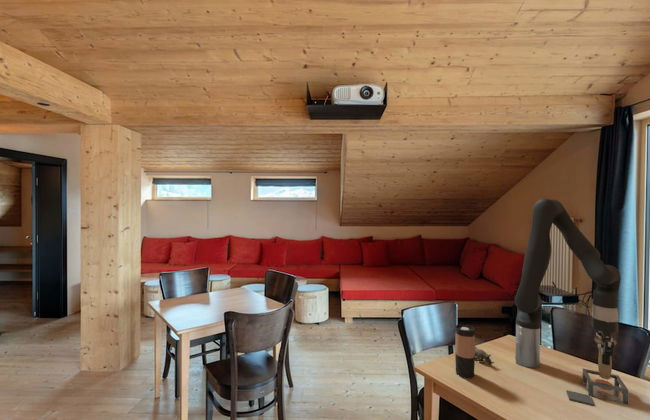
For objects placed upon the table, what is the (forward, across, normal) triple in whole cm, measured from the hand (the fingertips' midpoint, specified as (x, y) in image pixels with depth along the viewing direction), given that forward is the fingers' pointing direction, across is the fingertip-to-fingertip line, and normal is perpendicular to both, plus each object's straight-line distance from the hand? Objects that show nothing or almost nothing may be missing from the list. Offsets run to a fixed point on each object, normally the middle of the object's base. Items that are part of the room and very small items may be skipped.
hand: (604, 361), depth 120 cm
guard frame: (+12, 0, 0) cm, 12 cm away
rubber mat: (+12, +10, -9) cm, 18 cm away
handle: (+6, 0, 0) cm, 6 cm away
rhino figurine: (+12, -3, -43) cm, 45 cm away
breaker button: (+10, 0, 0) cm, 10 cm away
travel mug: (+12, +12, -48) cm, 51 cm away
